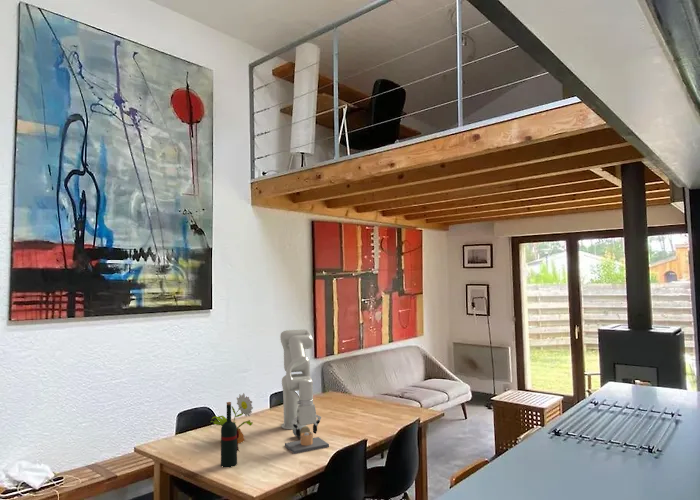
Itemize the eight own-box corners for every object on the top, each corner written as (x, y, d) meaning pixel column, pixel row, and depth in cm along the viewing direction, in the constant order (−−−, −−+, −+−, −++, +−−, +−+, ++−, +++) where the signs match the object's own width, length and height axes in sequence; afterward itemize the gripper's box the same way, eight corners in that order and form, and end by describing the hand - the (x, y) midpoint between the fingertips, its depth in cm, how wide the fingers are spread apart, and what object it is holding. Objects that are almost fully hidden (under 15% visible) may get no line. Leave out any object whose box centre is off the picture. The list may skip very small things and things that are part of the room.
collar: (299, 443, 261) (299, 433, 261) (309, 441, 264) (309, 431, 264) (303, 446, 256) (303, 436, 256) (314, 444, 259) (313, 434, 259)
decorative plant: (262, 439, 274) (261, 394, 276) (230, 451, 254) (230, 403, 256) (229, 431, 289) (229, 389, 290) (196, 443, 269) (196, 397, 270)
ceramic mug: (300, 440, 270) (300, 426, 271) (292, 437, 276) (292, 423, 277) (315, 436, 277) (315, 423, 277) (307, 433, 283) (307, 420, 284)
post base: (284, 446, 261) (284, 432, 262) (318, 439, 271) (318, 426, 271) (294, 453, 249) (293, 439, 249) (329, 447, 258) (328, 432, 259)
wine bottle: (244, 462, 239) (243, 400, 241) (228, 468, 230) (228, 405, 232) (233, 459, 243) (232, 398, 245) (217, 465, 235) (217, 403, 237)
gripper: (293, 406, 254) (294, 439, 253) (323, 401, 262) (324, 433, 261) (288, 403, 261) (289, 435, 259) (317, 398, 269) (318, 430, 267)
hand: (306, 434), depth 260 cm, fingers open, 9 cm apart
